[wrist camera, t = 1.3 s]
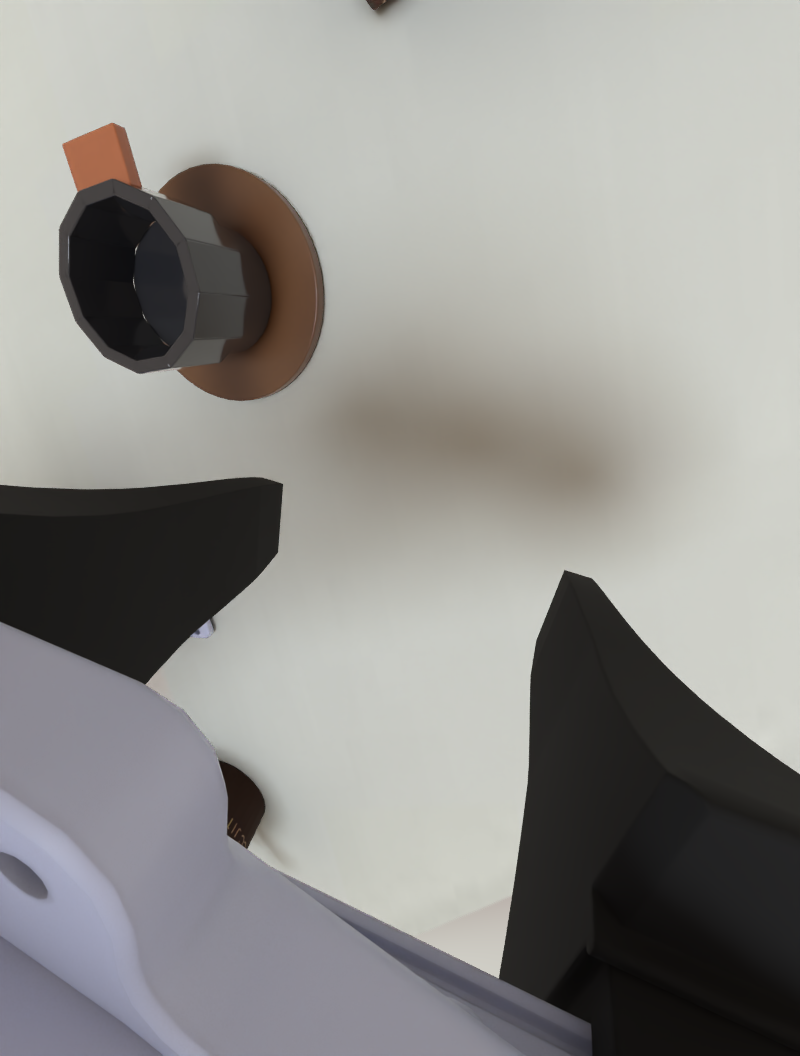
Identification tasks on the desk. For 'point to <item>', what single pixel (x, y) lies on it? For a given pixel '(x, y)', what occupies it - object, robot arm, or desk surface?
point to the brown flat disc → (289, 270)
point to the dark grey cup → (153, 267)
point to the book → (375, 3)
